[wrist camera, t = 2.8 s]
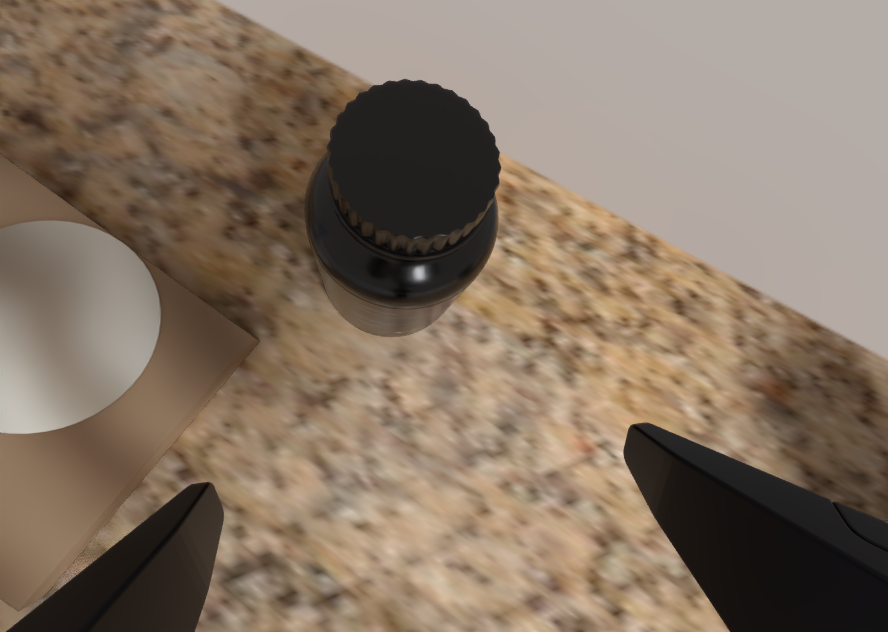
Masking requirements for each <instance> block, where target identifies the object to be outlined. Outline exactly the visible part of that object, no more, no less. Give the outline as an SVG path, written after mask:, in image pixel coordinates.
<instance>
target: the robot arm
mask: <svg viewBox="0 0 888 632" xmlns="http://www.w3.org/2000/svg"><path fill="white" fill-rule="evenodd" d="M624 459H625V462H626V464H627V466H628V468H629V470H630V472H631V474H632V476H633V478H634V480H635V481H636V483H637V485H638V487H639V489H640V491H641V493H642V495H643V497H644V499H645V501H646V503H647V505H648V506H649V508H650V510H651V512H652V514H653V515H654V517H655V519H656V520H657V522H658V524H659V525H660V527H661V528H662V530H663V531H664V533H665V534H666V536H667V537H668V539H669V540H670V542H671V543H672V545H673V546H674V548H675V549H676V551H677V552H678V554H679V555H680V557H681V558H682V560H683V561H684V563H685V564H686V566H687V567H688V569H689V570H690V572H691V573H692V575H693V576H694V578H695V579H696V581H697V583H698V584H699V586H700V587H701V589H702V590H703V592H704V593H705V595H706V596H707V598H708V599H709V601H710V602H711V604H712V605H713V607H714V608H715V610H716V611H717V613H718V614H719V616H720V617H721V619H722V620H723V622H724V623H725V625H726V626H727V628H728V629H729V631H730V632H888V523H886V522H884V521H882V520H879V519H877V518H874V517H872V516H869V515H867V514H864V513H862V512H860V511H857V510H855V509H852V508H850V507H848V506H845V505H843V504H841V503H838V502H833V503H832V501H831V500H830V499H827V498H825V497H823V496H820V495H818V494H816V493H813V492H811V491H809V490H806V489H804V488H801V487H799V486H797V485H794V484H792V483H790V482H787V481H785V480H783V479H780V478H778V477H775V476H773V475H771V474H768V473H766V472H764V471H761V470H759V469H757V468H754V467H752V466H749V465H747V464H745V463H742V462H740V461H738V460H735V459H733V458H731V457H728V456H726V455H724V454H721V453H719V452H716V451H714V450H712V449H709V448H707V447H705V446H702V445H700V444H698V443H695V442H693V441H690V440H688V439H686V438H683V437H681V436H679V435H676V434H674V433H672V432H669V431H667V430H665V429H662V428H660V427H657V426H655V425H653V424H650V423H638V424H633V425H631V426H630V427H629V429H628V433H627V437H626V442H625V446H624ZM223 520H224V512H223V507H222V504H221V502H220V499H219V497H218V494H217V492H216V490H215V487H214V485H213V484H212V483H210V482H204V483H197V484H191V485H189V486H188V487H186V488H185V489H184V490H183V491H181V492H180V493H179V494H178V495H176V496H175V497H174V498H173V499H171V500H170V501H169V502H168V503H166V504H165V505H164V506H163V507H161V508H160V509H159V510H158V511H156V512H155V513H154V514H153V515H151V516H150V517H149V518H148V519H146V520H145V521H144V522H143V523H141V524H140V525H139V526H138V527H136V528H135V529H134V530H133V531H131V532H130V533H129V534H128V535H126V536H125V537H124V538H123V539H121V540H120V541H119V542H118V543H116V544H115V545H114V546H113V547H111V548H110V549H109V550H108V551H106V552H105V553H104V554H103V555H101V556H100V557H99V558H98V559H96V560H95V561H94V562H93V563H91V564H90V565H89V566H88V567H86V568H85V569H84V570H83V571H81V572H80V573H79V574H78V575H76V576H75V577H74V578H73V579H71V580H70V581H69V582H68V583H66V584H65V585H64V586H63V587H61V588H60V589H59V590H58V591H56V592H55V593H54V594H53V595H51V596H50V597H49V598H48V599H46V600H45V601H44V602H43V603H41V604H40V605H39V606H38V607H36V608H35V609H34V610H33V611H31V612H30V613H29V614H28V615H26V616H25V617H24V618H23V619H21V620H20V621H19V622H18V623H16V624H15V625H14V626H13V627H11V628H10V629H9V630H8V631H6V632H195V629H196V626H197V623H198V620H199V617H200V614H201V611H202V608H203V605H204V602H205V599H206V596H207V593H208V589H209V585H210V581H211V577H212V572H213V567H214V563H215V558H216V553H217V549H218V544H219V539H220V535H221V530H222V526H223Z"/></svg>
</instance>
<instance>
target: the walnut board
mask: <svg viewBox="0 0 888 632" xmlns="http://www.w3.org/2000/svg"><path fill="white" fill-rule="evenodd" d="M258 342H259V341H258V340H257V339H256V338H254V337H253V336H252V335H250V334H249V333H247V332H246V331H245V330H243V329H242V328H240V327H239V326H238V325H236V324H235V323H234V322H232V321H231V320H229V319H228V318H227V317H225V316H224V315H222V314H221V313H220V312H218V311H217V310H215V309H214V308H213V307H211V306H210V305H209V304H207V303H206V302H204V301H203V300H202V299H200V298H199V297H197V296H196V295H195V294H193V293H192V292H191V291H189V290H188V289H186V288H185V287H184V286H182V285H181V284H179V283H178V282H177V281H175V280H174V279H173V278H171V277H170V276H168V275H167V274H166V273H164V272H163V271H161V270H160V269H159V268H157V267H156V266H155V265H153V264H152V263H150V262H149V261H148V260H146V259H145V258H143V257H142V256H141V255H139V254H138V253H137V252H135V251H134V250H132V249H131V248H130V247H128V246H127V245H125V244H124V243H123V242H121V241H120V240H119V239H117V238H116V237H114V236H113V235H112V234H110V233H109V232H107V231H106V230H105V229H103V228H102V227H100V226H99V225H98V224H96V223H95V222H94V221H92V220H91V219H89V218H88V217H87V216H85V215H84V214H82V213H81V212H80V211H78V210H77V209H76V208H74V207H73V206H71V205H70V204H69V203H67V202H66V201H64V200H63V199H62V198H60V197H59V196H58V195H56V194H55V193H53V192H52V191H51V190H49V189H48V188H46V187H45V186H44V185H42V184H41V183H40V182H38V181H37V180H35V179H34V178H33V177H31V176H30V175H28V174H27V173H26V172H24V171H23V170H22V169H20V168H19V167H17V166H16V165H15V164H13V163H12V162H10V161H9V160H8V159H6V158H5V157H4V156H2V155H1V154H0V599H1V600H2V601H4V602H5V603H7V604H8V605H10V606H11V607H13V608H14V609H15V610H17V611H20V610H22V609H23V608H25V607H27V606H28V605H30V604H32V603H33V602H35V601H37V600H38V599H40V598H42V597H43V596H45V595H46V594H47V592H48V591H49V590H50V589H51V588H52V587H53V585H54V584H55V583H56V582H57V581H58V579H59V578H60V577H61V576H62V575H63V573H64V572H65V571H66V570H67V569H68V568H69V566H70V565H71V564H72V563H73V562H74V560H75V559H76V558H77V557H78V556H79V555H80V553H81V552H82V551H83V550H84V549H85V547H86V546H87V545H88V544H89V543H90V541H91V540H92V539H93V538H94V537H95V536H96V534H97V533H98V532H99V531H100V530H101V528H102V527H103V526H104V525H105V524H106V523H107V521H108V520H109V519H110V518H111V517H112V515H113V514H114V513H115V512H116V511H117V509H118V508H119V507H120V506H121V505H122V504H123V502H124V501H125V500H126V499H127V498H128V496H129V495H130V494H131V493H132V492H133V491H134V489H135V488H136V487H137V486H138V485H139V483H140V482H141V481H142V480H143V479H144V478H145V476H146V475H147V474H148V473H149V472H150V470H151V469H152V468H153V467H154V466H155V464H156V463H157V462H158V461H159V460H160V459H161V457H162V456H163V455H164V454H165V453H166V451H167V450H168V449H169V448H170V447H171V446H172V444H173V443H174V442H175V441H176V440H177V438H178V437H179V436H180V435H181V434H182V432H183V431H184V430H185V429H186V428H187V427H188V425H189V424H190V423H191V422H192V421H193V419H194V418H195V417H196V416H197V415H198V414H199V412H200V411H201V410H202V409H203V408H204V406H205V405H206V404H207V403H208V402H209V400H210V399H211V398H212V397H213V396H214V395H215V393H216V392H217V391H218V390H219V389H220V387H221V386H222V385H223V384H224V383H225V382H226V380H227V379H228V378H229V377H230V376H231V374H232V373H233V372H234V371H235V370H236V368H237V367H238V366H239V365H240V364H241V363H242V361H243V360H244V359H245V358H246V357H247V355H248V354H249V353H250V352H251V351H252V350H253V348H254V347H255V346H256V345H257V344H258Z"/></svg>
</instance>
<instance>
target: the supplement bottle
mask: <svg viewBox="0 0 888 632" xmlns="http://www.w3.org/2000/svg"><path fill="white" fill-rule="evenodd" d="M330 139H331V140H330V142H329V144H328V146H327V152H326V153H325V154H324V155H323V156H322V158H321V159H320V161H319V162H318V164H317V165H316V167H315V169H314V171H313V173H312V175H311V178H310V180H309V183H308V187H307V191H306V197H305V209H304V210H305V222H306V228H307V234H308V237H309V241H310V244H311V247H312V250H313V253H314V257H315V260H316V263H317V266H318V269H319V272H320V275H321V278H322V281H323V284H324V287H325V289H326V292H327V294H328V296H329V299H330V300H331V302H332V304H333V306H334V307H335V309H336V310H337V311H338V312H339V313H340V315H341V316H342V317H343V318H344V319H345V320H347V321H348V322H349V323H350V324H352V325H353V326H355V327H356V328H358V329H360V330H362V331H364V332H367V333H370V334H373V335H377V336H383V337H400V336H406V335H410V334H413V333H416V332H418V331H420V330H422V329H424V328H426V327H428V326H429V325H431V324H432V323H433V322H434V321H436V320H437V319H438V318H439V317H440V316H441V315H442V314H443V313H444V312H445V311H446V310H447V309H448V308H449V307H450V306H451V304H452V303H453V302H454V301H455V300H456V299H457V298H458V297H459V296H460V295H461V294H462V293H463V292H464V290H465V289H466V288H467V287H468V286H469V285H470V284H471V283H472V282H473V281H474V279H475V278H476V277H477V276H478V275H479V273H480V272H481V270H482V269H483V267H484V266H485V264H486V263H487V261H488V259H489V257H490V255H491V253H492V250H493V248H494V244H495V241H496V237H497V231H498V207H497V200H496V196H495V191H496V190H497V188H498V186H499V177H498V176H499V173H500V171H501V165H500V162H499V160H498V159H499V154H500V152H499V150H498V148H497V147H496V145H495V136H494V135H493V134H492V133H491V132H490V130H489V125H488V123H487V122H486V121H485V120H484V119H482V118H481V116H480V113H479V111H478V110H476V109H475V108H473V107H472V106H470V104H469V102H468V101H467V100H466V99H464V98H462V97H459V96H458V95H457V94H456V93H455V92H453V91H452V90H448V89H444V88H442V87H441V86H440V85H438V84H428V83H426V82H425V81H422V80H418V81H410V80H407V79H403V80H400V81H398V82H396V81H387V82H385V83H384V84H383V85H374V86H372V87H371V88H370V89H369V90H368V91H365V92H361V93H359V94H358V96H357V97H356V99H355V100H353V101H351V102H349V103H347V105H346V108H345V111H344V112H342V113H340V114H339V115H338V116H337V121H336V125H335V126H334V127H333V128H332V129H331V131H330Z"/></svg>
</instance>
